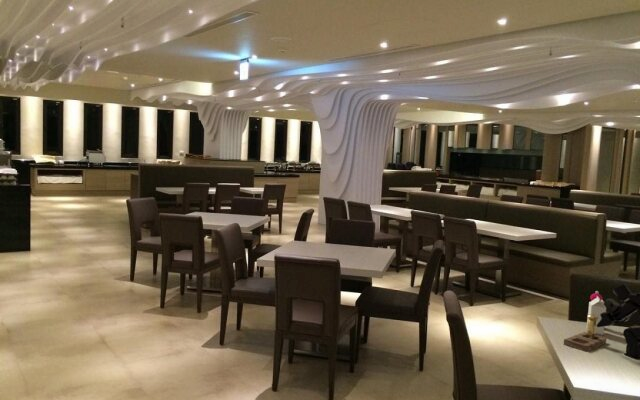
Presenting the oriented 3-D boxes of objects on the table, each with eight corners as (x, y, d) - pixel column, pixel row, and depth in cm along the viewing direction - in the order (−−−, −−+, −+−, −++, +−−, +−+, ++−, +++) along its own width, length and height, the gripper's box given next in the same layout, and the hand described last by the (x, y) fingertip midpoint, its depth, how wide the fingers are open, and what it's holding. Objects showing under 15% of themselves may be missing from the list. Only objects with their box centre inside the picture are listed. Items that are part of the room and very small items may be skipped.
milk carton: (588, 333, 288) (592, 298, 287) (586, 329, 295) (589, 295, 293) (603, 335, 286) (607, 300, 285) (600, 331, 293) (604, 296, 291)
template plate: (584, 336, 282) (584, 331, 282) (605, 343, 273) (606, 338, 273) (563, 344, 268) (564, 339, 268) (586, 351, 259) (586, 346, 259)
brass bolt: (597, 343, 271) (600, 317, 270) (587, 343, 272) (590, 317, 270) (592, 340, 276) (595, 314, 275) (582, 339, 277) (585, 314, 275)
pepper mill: (597, 324, 305) (601, 289, 303) (602, 328, 298) (606, 293, 296) (584, 323, 306) (587, 288, 304) (589, 327, 298) (593, 292, 297)
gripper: (626, 292, 268) (601, 308, 278) (606, 296, 258) (581, 313, 268) (641, 312, 263) (615, 328, 273) (621, 317, 252) (595, 333, 262)
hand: (602, 325), depth 269 cm, fingers open, 9 cm apart
